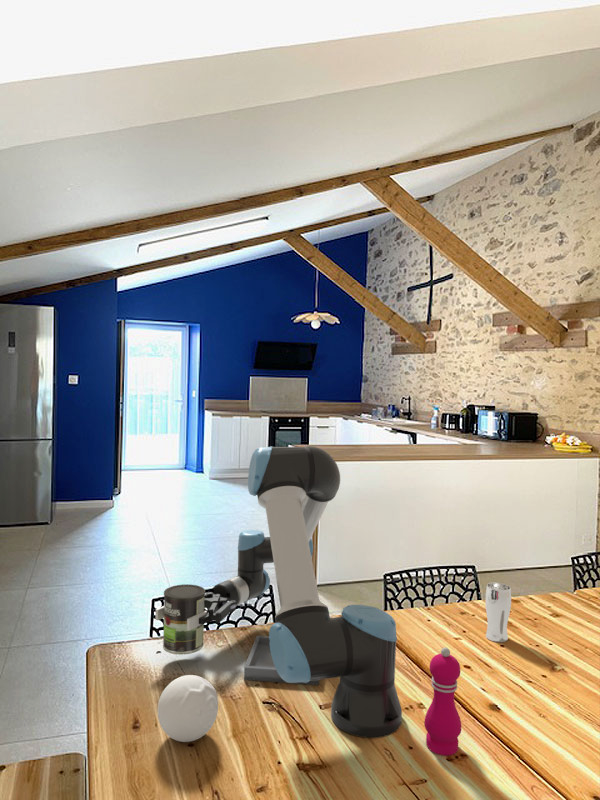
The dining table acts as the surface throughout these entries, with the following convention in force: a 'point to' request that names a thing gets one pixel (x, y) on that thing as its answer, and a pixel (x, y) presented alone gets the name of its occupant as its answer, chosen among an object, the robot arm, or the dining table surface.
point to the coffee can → (182, 618)
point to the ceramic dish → (264, 664)
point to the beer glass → (497, 611)
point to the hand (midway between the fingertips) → (172, 619)
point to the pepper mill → (443, 705)
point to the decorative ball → (187, 708)
